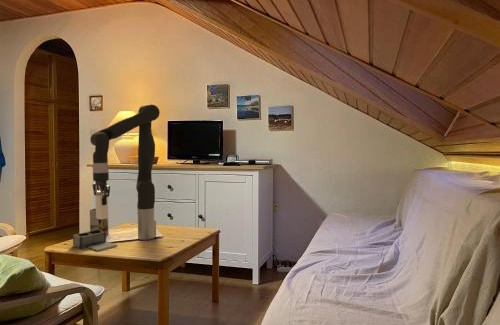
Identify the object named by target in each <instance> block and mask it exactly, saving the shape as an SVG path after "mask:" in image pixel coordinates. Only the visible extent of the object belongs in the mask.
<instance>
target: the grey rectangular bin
mask: <svg viewBox="0 0 500 325" xmlns="http://www.w3.org/2000/svg"><path fill="white" fill-rule="evenodd" d="M106 236H107V235H106V232H104V231H101V230H94V231H90V230H89V231H84V232H81V233H80V232H79V233H76V234H72V246H73V247H75V248H77V249H80V250H82V249H87V248H89V246H93V245H97V244H101V243H105V242H107V239H106V238H107V237H106Z"/></svg>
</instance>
